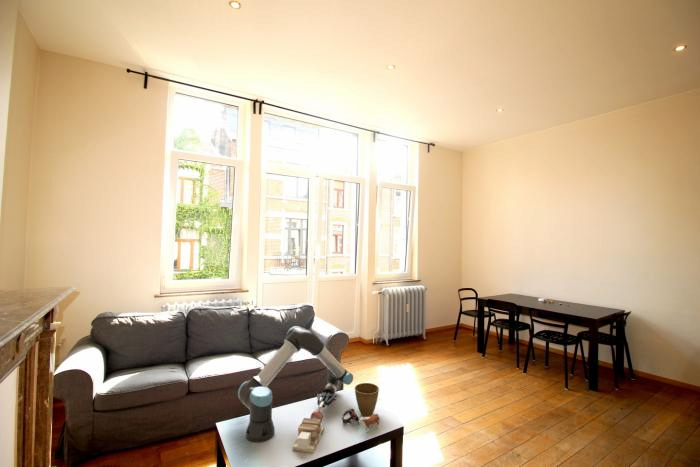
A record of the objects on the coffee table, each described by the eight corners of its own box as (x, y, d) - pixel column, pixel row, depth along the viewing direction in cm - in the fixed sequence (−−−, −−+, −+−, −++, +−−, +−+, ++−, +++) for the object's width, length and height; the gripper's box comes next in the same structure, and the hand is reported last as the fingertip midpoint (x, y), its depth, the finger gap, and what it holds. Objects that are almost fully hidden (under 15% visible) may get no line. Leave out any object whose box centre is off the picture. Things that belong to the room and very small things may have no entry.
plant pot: (351, 410, 209) (351, 384, 210) (373, 406, 214) (373, 381, 214) (359, 422, 195) (359, 394, 196) (382, 418, 200) (382, 391, 200)
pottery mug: (360, 429, 189) (354, 417, 188) (346, 434, 191) (339, 423, 189) (361, 413, 201) (355, 402, 199) (347, 418, 202) (341, 408, 201)
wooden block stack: (313, 443, 172) (313, 430, 172) (300, 442, 174) (300, 428, 174) (323, 423, 192) (323, 411, 192) (311, 422, 193) (311, 410, 193)
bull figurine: (357, 431, 186) (357, 416, 186) (376, 424, 193) (376, 410, 193) (361, 435, 182) (362, 420, 182) (381, 428, 189) (381, 413, 190)
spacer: (307, 449, 166) (307, 439, 166) (297, 448, 167) (297, 437, 167) (310, 442, 172) (310, 432, 172) (301, 441, 173) (301, 431, 173)
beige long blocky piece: (313, 453, 166) (313, 436, 166) (292, 450, 168) (292, 433, 168) (323, 431, 186) (323, 416, 186) (304, 428, 188) (305, 414, 188)
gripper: (338, 398, 219) (330, 416, 196) (319, 396, 222) (309, 414, 198) (339, 386, 220) (330, 403, 196) (320, 385, 222) (309, 401, 199)
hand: (319, 409), depth 197 cm, fingers closed
